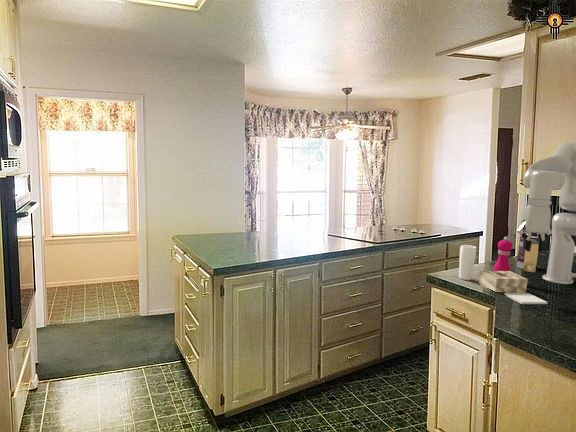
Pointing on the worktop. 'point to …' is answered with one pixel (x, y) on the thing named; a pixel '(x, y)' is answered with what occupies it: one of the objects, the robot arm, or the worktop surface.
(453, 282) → the worktop surface
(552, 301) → the worktop surface
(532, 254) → the yellow glass jar
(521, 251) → the supplement box
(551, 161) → the robot arm
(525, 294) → the mat
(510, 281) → the bore block
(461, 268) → the white cylinder
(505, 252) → the pepper mill
